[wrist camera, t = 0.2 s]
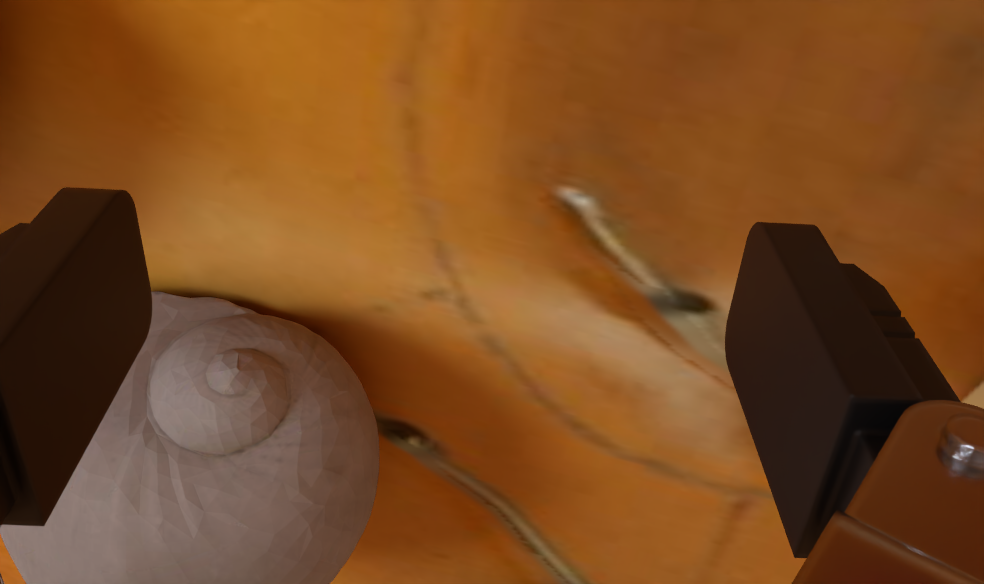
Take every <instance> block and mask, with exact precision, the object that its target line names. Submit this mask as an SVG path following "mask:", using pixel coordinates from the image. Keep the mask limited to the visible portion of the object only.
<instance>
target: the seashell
mask: <svg viewBox="0 0 984 584" xmlns="http://www.w3.org/2000/svg"><path fill="white" fill-rule="evenodd" d="M151 294H152V318H151V324H150V329H149V333H148V336H147V338H146V340H145V342H144V344H143V346H142V348H141V350H140V352H139V353H138V355H137V357H136V359H135V361H134V363H133V364H132V366H131V368H130V370H129V372H128V374H127V375H126V377H125V379H124V381H123V383H122V385H121V386H120V388H119V390H118V392H117V394H116V396H115V397H114V399H113V401H112V403H111V405H110V407H109V408H108V410H107V412H106V414H105V416H104V418H103V419H102V421H101V423H100V425H99V427H98V429H97V430H96V432H95V434H94V436H93V438H92V440H91V441H90V443H89V445H88V447H87V449H86V451H85V452H84V454H83V456H82V458H81V460H80V462H79V463H78V465H77V467H76V469H75V471H74V473H73V474H72V476H71V478H70V480H69V482H68V484H67V485H66V487H65V489H64V491H63V493H62V495H61V496H60V498H59V500H58V502H57V504H56V506H55V507H54V509H53V511H52V513H51V515H50V517H49V518H48V520H47V522H46V524H45V526H22V525H1V527H0V534H1V536H2V539H3V542H4V544H5V547H6V548H7V550H8V552H9V554H10V556H11V558H12V559H13V561H14V563H15V565H16V567H17V568H18V570H19V572H20V574H21V575H22V577H23V579H24V580H25V582H26V583H27V584H329V583H330V582H332V581H333V579H334V578H335V577H336V575H337V574H338V572H339V571H340V569H341V568H342V567H343V566H344V564H345V563H346V561H347V560H348V558H349V557H350V555H351V553H352V552H353V550H354V548H355V546H356V545H357V543H358V541H359V539H360V537H361V535H362V533H363V532H364V529H365V527H366V524H367V522H368V520H369V517H370V515H371V511H372V507H373V503H374V499H375V495H376V489H377V482H378V475H379V437H378V430H377V424H376V419H375V416H374V413H373V410H372V407H371V405H370V402H369V400H368V397H367V395H366V392H365V390H364V388H363V386H362V384H361V382H360V380H359V378H358V377H357V375H356V374H355V372H354V371H353V369H352V368H351V366H350V365H349V364H348V363H347V362H346V361H345V359H344V358H343V357H342V356H341V355H340V354H339V352H338V351H337V350H336V349H335V348H334V347H333V346H332V345H331V344H329V343H328V342H327V341H326V340H325V339H324V338H322V337H321V336H319V335H318V334H316V333H313V332H312V331H310V330H309V329H307V328H306V327H304V326H303V325H300V324H298V323H295V322H293V321H289V320H285V319H281V318H278V317H275V316H269V315H260V314H258V313H256V312H255V311H253V310H251V309H247V308H244V307H240V306H237V305H235V304H233V303H231V302H229V301H227V300H223V299H218V298H213V297H200V298H187V297H181V296H175V295H171V294H167V293H163V292H159V291H158V292H151Z"/></svg>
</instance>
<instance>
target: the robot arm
mask: <svg viewBox="0 0 984 584" xmlns="http://www.w3.org/2000/svg"><path fill="white" fill-rule="evenodd" d="M151 318H152V294H151V287H150V282H149V277H148V271H147V266H146V261H145V255H144V250H143V245H142V239H141V234H140V229H139V223H138V218H137V213H136V208H135V204H134V201H133V199H132V197H131V196H130V194H129V193H128V192H127V191H125V190H112V189H91V188H70V187H66V188H62V189H61V190H60V191H58V192H57V194H56V195H55V196H54V197H53V198H52V199H51V200H50V201H49V203H48V204H47V205H46V206H45V207H44V208H43V209H42V210H41V212H40V213H39V214H38V215H37V216H36V217H35V218H34V219H33V221H32V222H31V223H30V224H28V223H19V224H18V225H16V226H14V227H12V228H10V229H8V230H7V231H5V232H3V233H1V234H0V527H1V525H22V526H45V524H46V522H47V520H48V518H49V517H50V515H51V513H52V511H53V509H54V507H55V506H56V504H57V502H58V500H59V498H60V496H61V495H62V493H63V491H64V489H65V487H66V485H67V484H68V482H69V480H70V478H71V476H72V474H73V473H74V471H75V469H76V467H77V465H78V463H79V462H80V460H81V458H82V456H83V454H84V452H85V451H86V449H87V447H88V445H89V443H90V441H91V440H92V438H93V436H94V434H95V432H96V430H97V429H98V427H99V425H100V423H101V421H102V419H103V418H104V416H105V414H106V412H107V410H108V408H109V407H110V405H111V403H112V401H113V399H114V397H115V396H116V394H117V392H118V390H119V388H120V386H121V385H122V383H123V381H124V379H125V377H126V375H127V374H128V372H129V370H130V368H131V366H132V364H133V363H134V361H135V359H136V357H137V355H138V353H139V352H140V350H141V348H142V346H143V344H144V342H145V340H146V338H147V336H148V333H149V329H150V324H151ZM725 352H726V360H727V365H728V369H729V372H730V374H731V377H732V380H733V383H734V386H735V389H736V392H737V394H738V397H739V400H740V403H741V406H742V409H743V412H744V415H745V417H746V420H747V423H748V426H749V429H750V432H751V435H752V437H753V440H754V443H755V446H756V449H757V452H758V455H759V457H760V460H761V463H762V466H763V469H764V472H765V475H766V477H767V480H768V483H769V486H770V489H771V492H772V495H773V497H774V500H775V503H776V506H777V509H778V512H779V515H780V517H781V520H782V523H783V526H784V529H785V532H786V535H787V537H788V540H789V543H790V546H791V549H792V552H793V555H794V557H795V558H807V559H806V560H805V562H804V564H803V565H802V567H801V569H800V570H799V572H798V574H797V576H796V577H795V579H794V581H793V582H792V584H984V409H982V408H980V407H977V406H974V405H970V404H966V403H962V402H960V400H959V399H958V397H957V396H956V394H955V393H954V391H953V390H952V388H951V387H950V385H949V383H948V382H947V380H946V379H945V377H944V376H943V374H942V373H941V371H940V370H939V368H938V367H937V365H936V364H935V362H934V361H933V359H932V358H931V356H930V355H929V353H928V352H927V350H926V349H925V347H924V346H923V344H922V343H921V341H920V340H919V339H917V338H915V332H914V331H913V329H912V328H911V326H910V325H909V323H908V322H907V320H906V319H905V317H901V311H900V310H899V308H898V307H897V305H896V304H895V302H894V301H893V299H892V298H891V296H890V295H889V293H888V292H887V290H886V289H885V287H884V286H883V285H881V284H880V283H879V282H877V281H876V280H874V279H873V278H872V277H870V276H869V275H868V274H866V273H865V272H864V271H862V270H861V269H860V268H858V267H857V266H856V265H854V264H843V263H840V262H839V261H838V259H837V258H836V256H835V254H834V253H833V251H832V249H831V248H830V246H829V245H828V243H827V241H826V240H825V238H824V236H823V235H822V233H821V232H820V230H819V229H818V227H817V226H815V225H807V224H786V223H766V222H757V223H755V224H754V225H753V226H752V228H751V230H750V232H749V235H748V237H747V241H746V245H745V249H744V253H743V257H742V261H741V266H740V270H739V274H738V278H737V282H736V286H735V290H734V295H733V299H732V303H731V307H730V311H729V315H728V320H727V325H726V334H725ZM0 584H4V582H3V579H2V576H1V574H0Z"/></svg>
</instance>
